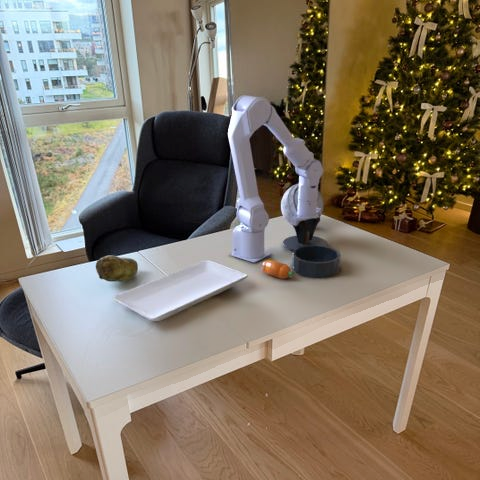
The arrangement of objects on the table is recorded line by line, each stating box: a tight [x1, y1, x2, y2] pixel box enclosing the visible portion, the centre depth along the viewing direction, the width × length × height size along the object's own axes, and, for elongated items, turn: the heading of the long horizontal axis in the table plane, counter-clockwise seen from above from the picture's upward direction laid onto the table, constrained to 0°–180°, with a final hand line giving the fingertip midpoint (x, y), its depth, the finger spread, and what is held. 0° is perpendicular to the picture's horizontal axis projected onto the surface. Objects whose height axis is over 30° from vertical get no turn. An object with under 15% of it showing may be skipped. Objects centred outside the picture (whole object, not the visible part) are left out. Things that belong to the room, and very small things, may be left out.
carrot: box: [261, 259, 295, 280], centre depth 123 cm, size 10×4×4 cm, turn 50°
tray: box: [113, 259, 249, 322], centre depth 113 cm, size 17×31×4 cm, turn 136°
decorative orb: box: [280, 183, 325, 225], centre depth 157 cm, size 15×14×15 cm
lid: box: [282, 231, 328, 252], centre depth 142 cm, size 14×14×5 cm
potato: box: [95, 254, 139, 283], centre depth 121 cm, size 8×13×8 cm, turn 131°
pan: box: [291, 245, 342, 279], centre depth 127 cm, size 13×13×4 cm
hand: (304, 241), depth 143 cm, fingers open, 4 cm apart
